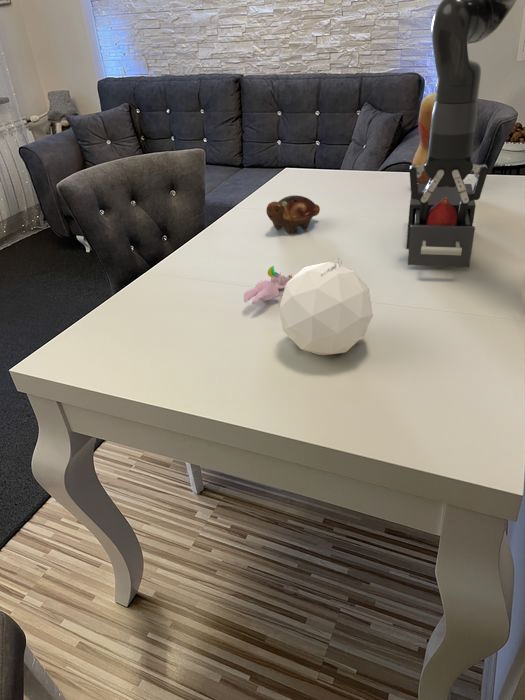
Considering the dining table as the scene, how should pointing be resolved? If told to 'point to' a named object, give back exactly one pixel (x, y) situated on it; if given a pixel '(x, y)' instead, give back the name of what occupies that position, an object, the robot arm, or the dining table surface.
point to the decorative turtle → (292, 212)
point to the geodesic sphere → (325, 308)
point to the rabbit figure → (267, 287)
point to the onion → (442, 214)
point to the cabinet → (436, 197)
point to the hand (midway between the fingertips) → (442, 220)
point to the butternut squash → (424, 135)
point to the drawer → (440, 243)
